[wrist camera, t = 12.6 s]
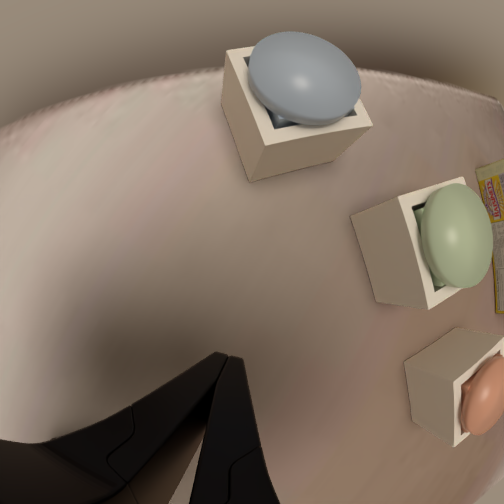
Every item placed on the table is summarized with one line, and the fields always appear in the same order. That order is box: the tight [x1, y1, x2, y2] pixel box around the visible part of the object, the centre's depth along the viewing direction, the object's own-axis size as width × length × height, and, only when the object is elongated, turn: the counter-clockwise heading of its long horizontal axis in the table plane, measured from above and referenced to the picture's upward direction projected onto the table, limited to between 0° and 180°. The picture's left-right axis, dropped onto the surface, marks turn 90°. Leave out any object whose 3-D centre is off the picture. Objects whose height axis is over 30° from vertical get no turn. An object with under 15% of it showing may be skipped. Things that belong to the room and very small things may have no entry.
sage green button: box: [413, 183, 493, 288], centre depth 16 cm, size 6×6×4 cm
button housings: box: [221, 46, 504, 448], centre depth 19 cm, size 15×32×6 cm, turn 18°
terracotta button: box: [461, 353, 504, 435], centre depth 16 cm, size 6×6×4 cm
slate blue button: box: [248, 32, 361, 129], centre depth 16 cm, size 6×6×4 cm
